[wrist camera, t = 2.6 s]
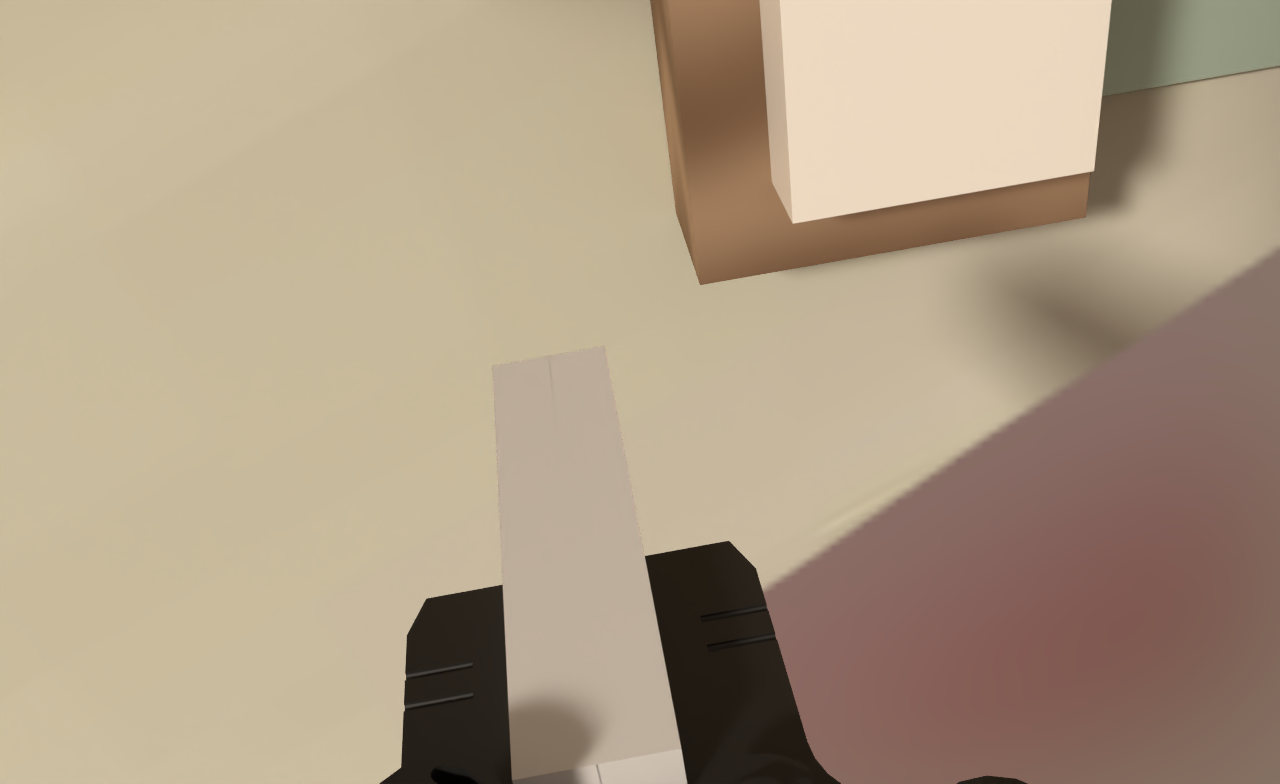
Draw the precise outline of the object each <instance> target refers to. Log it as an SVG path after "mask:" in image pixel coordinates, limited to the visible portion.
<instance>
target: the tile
mask: <svg viewBox="0 0 1280 784" xmlns="http://www.w3.org/2000/svg"><path fill="white" fill-rule="evenodd" d="M759 1H760V16H761V30H762V45H763V60H764V74H765V89H766V104H767V118H768V133H769V148H770V162H771V177H772V183H773V185H774V187H775V189H776V191H777V193H778V195H779V197H780V199H781V201H782V203H783V205H784V207H785V209H786V211H787V213H788V215H789V217H790V219H791V221H792V223H793V224H794V223H800V222H806V221H812V220H817V219H823V218H829V217H834V216H840V215H846V214H852V213H857V212H863V211H869V210H874V209H880V208H886V207H892V206H897V205H903V204H909V203H914V202H920V201H926V200H932V199H937V198H943V197H949V196H955V195H960V194H966V193H972V192H977V191H983V190H989V189H995V188H1000V187H1006V186H1012V185H1017V184H1023V183H1029V182H1035V181H1040V180H1046V179H1052V178H1057V177H1063V176H1069V175H1075V174H1080V173H1086V172H1092V171H1094V167H1095V157H1096V147H1097V138H1098V128H1099V118H1100V109H1101V99H1102V90H1103V80H1104V70H1105V61H1106V51H1107V41H1108V32H1109V22H1110V13H1111V3H1112V0H759Z"/></svg>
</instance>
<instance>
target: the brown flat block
mask: <svg viewBox="0 0 1280 784" xmlns="http://www.w3.org/2000/svg"><path fill="white" fill-rule="evenodd" d="M650 1H651V9H652V17H653V26H654V34H655V42H656V50H657V58H658V67H659V75H660V83H661V91H662V100H663V108H664V116H665V124H666V133H667V141H668V149H669V157H670V166H671V174H672V182H673V190H674V199H675V207H676V214H677V217H678V220H679V223H680V226H681V229H682V232H683V235H684V238H685V241H686V244H687V247H688V250H689V253H690V256H691V259H692V262H693V265H694V268H695V271H696V274H697V277H698V280H699V283H700V285H703V284H709V283H714V282H720V281H726V280H731V279H737V278H743V277H748V276H754V275H760V274H766V273H771V272H777V271H783V270H788V269H794V268H800V267H805V266H811V265H817V264H822V263H828V262H834V261H839V260H845V259H851V258H856V257H862V256H868V255H873V254H879V253H885V252H891V251H896V250H902V249H908V248H913V247H919V246H925V245H930V244H936V243H942V242H947V241H953V240H959V239H964V238H970V237H976V236H981V235H987V234H993V233H998V232H1004V231H1010V230H1016V229H1021V228H1027V227H1033V226H1038V225H1044V224H1050V223H1055V222H1061V221H1067V220H1072V219H1078V218H1084V217H1086V209H1087V199H1088V189H1089V180H1090V172H1086V173H1080V174H1075V175H1069V176H1063V177H1057V178H1052V179H1046V180H1040V181H1035V182H1029V183H1023V184H1017V185H1012V186H1006V187H1000V188H995V189H989V190H983V191H977V192H972V193H966V194H960V195H955V196H949V197H943V198H937V199H932V200H926V201H920V202H914V203H909V204H903V205H897V206H892V207H886V208H880V209H874V210H869V211H863V212H857V213H852V214H846V215H840V216H834V217H829V218H823V219H817V220H812V221H806V222H800V223H794V224H793V223H792V221H791V219H790V217H789V215H788V213H787V211H786V209H785V207H784V205H783V203H782V201H781V199H780V197H779V195H778V193H777V191H776V189H775V187H774V185H773V183H772V177H771V162H770V148H769V133H768V118H767V104H766V89H765V74H764V60H763V45H762V30H761V16H760V1H759V0H650Z"/></svg>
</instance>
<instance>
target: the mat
mask: <svg viewBox="0 0 1280 784" xmlns="http://www.w3.org/2000/svg"><path fill="white" fill-rule="evenodd" d="M1275 66H1280V0H1112V3H1111V13H1110V22H1109V32H1108V41H1107V51H1106V61H1105V70H1104V80H1103V90H1102V96H1108V95H1113V94H1119V93H1125V92H1131V91H1137V90H1142V89H1148V88H1154V87H1160V86H1166V85H1171V84H1177V83H1183V82H1189V81H1194V80H1200V79H1206V78H1212V77H1218V76H1223V75H1229V74H1235V73H1241V72H1246V71H1252V70H1258V69H1264V68H1270V67H1275Z"/></svg>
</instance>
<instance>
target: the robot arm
mask: <svg viewBox="0 0 1280 784" xmlns="http://www.w3.org/2000/svg"><path fill="white" fill-rule="evenodd" d="M492 370H493V391H494V412H495V433H496V454H497V475H498V496H499V518H500V539H501V560H502V581H503V585H499V586H494V587H488V588H483V589H477V590H472V591H466V592H461V593H455V594H450V595H444V596H439V597H433V598H428V599H426V601H425V602H424V604H423V606H422V608H421V610H420V612H419V614H418V616H417V618H416V619H415V621H414V623H413V625H412V627H411V629H410V631H409V633H408V634H407V648H406V671H405V673H406V680H405V695H404V705H405V711H404V718H403V741H402V764H401V768H400V769H399V770H397V771H396V772H395V773H393V774H392V775H391V776H389V777H388V778H386V779H385V780H384V781H382V782H381V783H380V784H841V783H840V782H838V781H837V780H835V779H834V778H833V777H831V776H830V775H829V774H827V772H826V771H825V770H824V769H823V767H822V766H821V765H820V764H819V763H818V762H817V760H816V759H815V757H814V755H813V753H812V751H811V749H810V747H809V744H808V742H807V739H806V736H805V733H804V729H803V726H802V722H801V719H800V715H799V712H798V709H797V706H796V702H795V699H794V695H793V692H792V688H791V685H790V682H789V678H788V675H787V672H786V668H785V665H784V662H783V658H782V655H781V651H780V648H779V645H778V641H777V640H776V637H775V631H774V628H773V625H772V621H771V618H770V615H769V611H768V610H767V606H766V601H765V598H764V594H763V591H762V588H761V584H760V581H759V578H758V574H757V571H756V568H755V567H754V566H753V565H752V564H751V563H750V562H749V561H748V560H747V559H746V558H745V557H744V556H743V555H742V554H741V553H740V552H739V551H738V550H737V549H736V548H735V547H734V546H733V545H732V543H731V542H730V541H725V542H720V543H714V544H709V545H703V546H698V547H692V548H687V549H682V550H676V551H671V552H665V553H660V554H654V555H649V556H645V555H644V550H643V544H642V539H641V534H640V529H639V523H638V518H637V513H636V508H635V502H634V497H633V492H632V487H631V481H630V476H629V471H628V466H627V460H626V455H625V450H624V445H623V439H622V434H621V429H620V424H619V418H618V413H617V408H616V403H615V397H614V392H613V387H612V382H611V376H610V371H609V366H608V361H607V355H606V350H605V346H601V347H595V348H589V349H584V350H578V351H572V352H567V353H561V354H555V355H550V356H544V357H538V358H533V359H527V360H521V361H516V362H510V363H505V364H499V365H493V366H492ZM957 784H1027V783H1025V782H1022V781H1020V780H1017V779H1012V778H1003V777H994V776H983V777H979V778H974V779H970V780H966V781H961V782H959V783H957Z"/></svg>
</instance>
